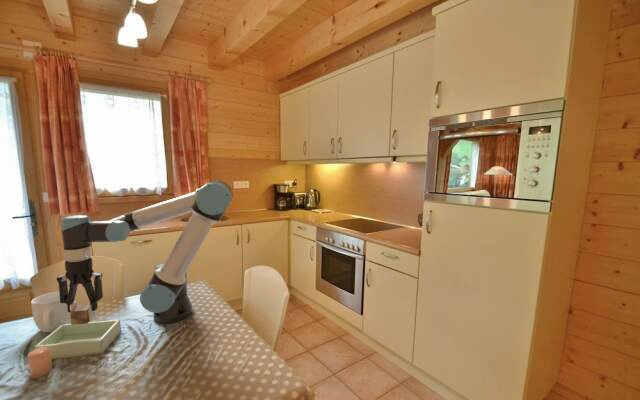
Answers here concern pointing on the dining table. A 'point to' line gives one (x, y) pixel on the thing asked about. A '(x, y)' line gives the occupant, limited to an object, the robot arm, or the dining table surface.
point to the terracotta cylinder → (39, 362)
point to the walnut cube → (80, 315)
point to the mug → (49, 312)
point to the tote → (81, 339)
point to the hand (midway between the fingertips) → (83, 319)
